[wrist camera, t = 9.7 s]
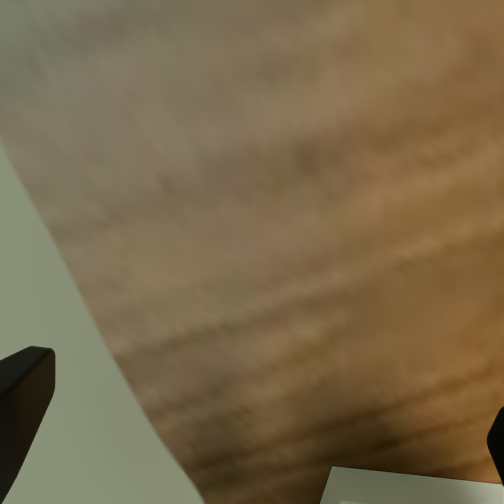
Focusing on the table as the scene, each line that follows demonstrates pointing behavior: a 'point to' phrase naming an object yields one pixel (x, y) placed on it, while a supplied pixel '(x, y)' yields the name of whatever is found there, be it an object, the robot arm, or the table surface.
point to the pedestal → (405, 489)
